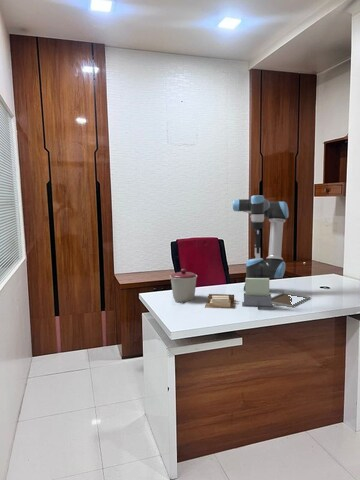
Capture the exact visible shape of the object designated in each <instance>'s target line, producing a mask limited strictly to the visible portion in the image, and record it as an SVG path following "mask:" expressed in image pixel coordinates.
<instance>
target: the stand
mask: <svg viewBox="0 0 360 480" xmlns="http://www.w3.org/2000/svg"><path fill="white" fill-rule="evenodd" d="M271 297H272V293H269V296H246V295H245V292H244V293H243V301H242V302H241V304H242V305H241V307H244V308H257V310H260V311H261V310H262V311H267V310H268V311H273V310H274V304H272V303H271Z"/></svg>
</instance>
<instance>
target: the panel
mask: <svg viewBox="0 0 360 480" xmlns="http://www.w3.org/2000/svg"><path fill="white" fill-rule="evenodd" d="M244 281H245V283H244V285H245V291H244V293H245V295H246V296H269V294H270V278H267V277H263V278H246V277H245V280H244Z"/></svg>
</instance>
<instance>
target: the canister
mask: <svg viewBox="0 0 360 480" xmlns="http://www.w3.org/2000/svg"><path fill="white" fill-rule="evenodd" d="M169 278H170V283H171V290H172V296H173V299H174V301H175V302H176V303H177V302H178V303H187V302H188V301H193V300H194V299H195V296H196V295H195V294H196V287H197V286H196V285H197V278H198V275H197V274H196V273H194V272H192V271H187V269H186V268H182V269H180V271H178V272H174V273H172V274H170V275H169Z"/></svg>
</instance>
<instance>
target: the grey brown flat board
mask: <svg viewBox="0 0 360 480" xmlns="http://www.w3.org/2000/svg"><path fill="white" fill-rule="evenodd" d="M288 295H291V296H297V297H303V298H305V299H303V300H301V301H299V302H297V303H295V304H293V305H292V304H291V302H292V298H291V297H290V296H288ZM290 298H291V299H290ZM310 298H311V296H307V295H302V294H295V293H289V292H285V291H284V292H282V293H279V294H277V295H273V296H271V303H272V305H273V307H285V306H286V307H287V308H291V307H293V308H295V307H297V306H298V304H299V305H300V303H301V304H303V303H305V302H306V300H307V301H309V300H310ZM308 299H309V300H308ZM290 301H291V302H290ZM304 301H305V302H304ZM302 302H303V303H302ZM296 305H297V306H296ZM294 306H295V307H294Z"/></svg>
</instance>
